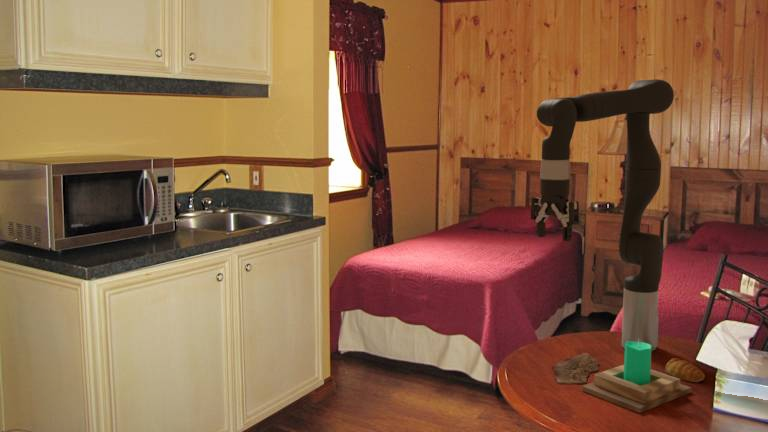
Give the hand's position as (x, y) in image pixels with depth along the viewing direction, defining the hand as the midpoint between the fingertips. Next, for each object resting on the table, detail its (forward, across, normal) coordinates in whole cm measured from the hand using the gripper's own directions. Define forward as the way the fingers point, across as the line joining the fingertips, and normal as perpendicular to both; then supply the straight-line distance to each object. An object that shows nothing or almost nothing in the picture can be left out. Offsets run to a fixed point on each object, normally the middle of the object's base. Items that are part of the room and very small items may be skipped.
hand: (553, 238), depth 181 cm
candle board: (+34, -25, -2) cm, 42 cm away
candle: (+33, -25, -2) cm, 42 cm away
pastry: (+35, -26, -21) cm, 48 cm away
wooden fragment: (+35, -6, -3) cm, 35 cm away
